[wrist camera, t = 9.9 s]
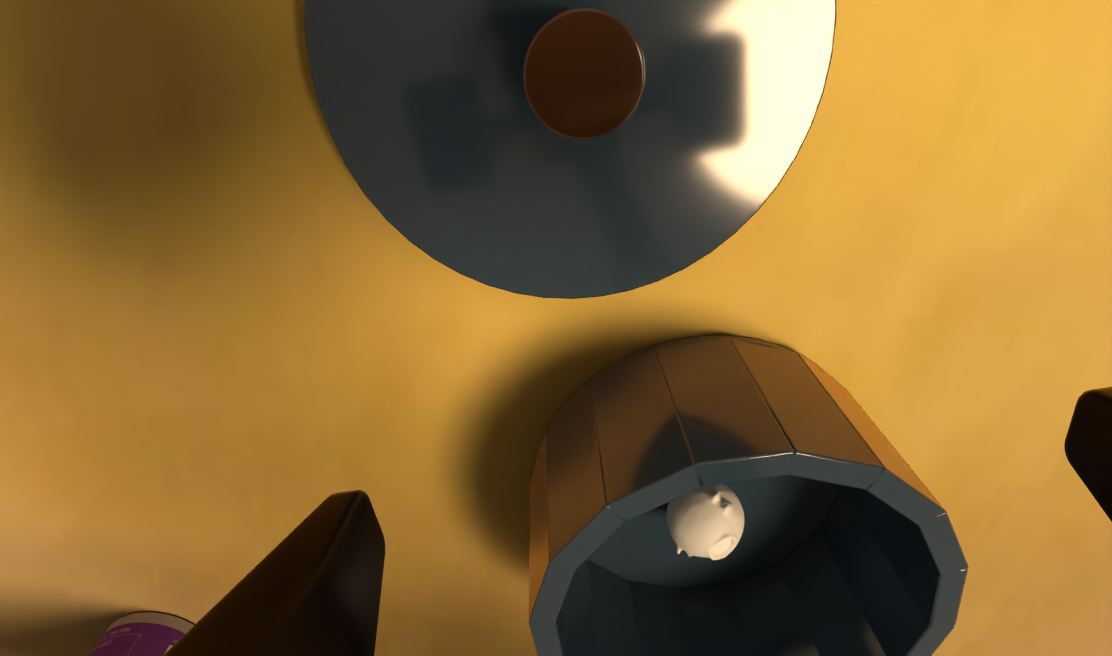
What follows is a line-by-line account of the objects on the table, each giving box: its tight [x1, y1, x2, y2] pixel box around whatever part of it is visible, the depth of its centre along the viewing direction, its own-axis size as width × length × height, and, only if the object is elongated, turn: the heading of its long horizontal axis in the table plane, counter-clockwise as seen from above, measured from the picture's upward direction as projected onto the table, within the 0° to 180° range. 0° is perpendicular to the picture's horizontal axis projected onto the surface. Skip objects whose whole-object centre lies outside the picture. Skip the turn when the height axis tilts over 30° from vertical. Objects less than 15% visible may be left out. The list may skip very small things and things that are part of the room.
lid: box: [304, 0, 836, 299], centre depth 15 cm, size 14×14×6 cm
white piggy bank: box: [667, 484, 744, 560], centre depth 22 cm, size 3×3×3 cm
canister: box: [529, 335, 968, 656], centre depth 21 cm, size 13×13×6 cm
